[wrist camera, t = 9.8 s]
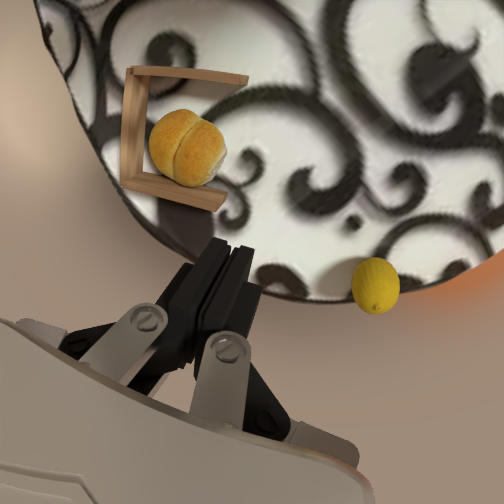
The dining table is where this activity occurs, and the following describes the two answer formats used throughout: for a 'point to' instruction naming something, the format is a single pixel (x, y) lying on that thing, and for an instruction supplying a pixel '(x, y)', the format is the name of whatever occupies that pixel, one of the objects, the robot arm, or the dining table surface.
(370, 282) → the lemon
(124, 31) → the dining table surface
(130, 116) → the bay
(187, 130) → the bread roll
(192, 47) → the dining table surface
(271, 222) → the dining table surface
